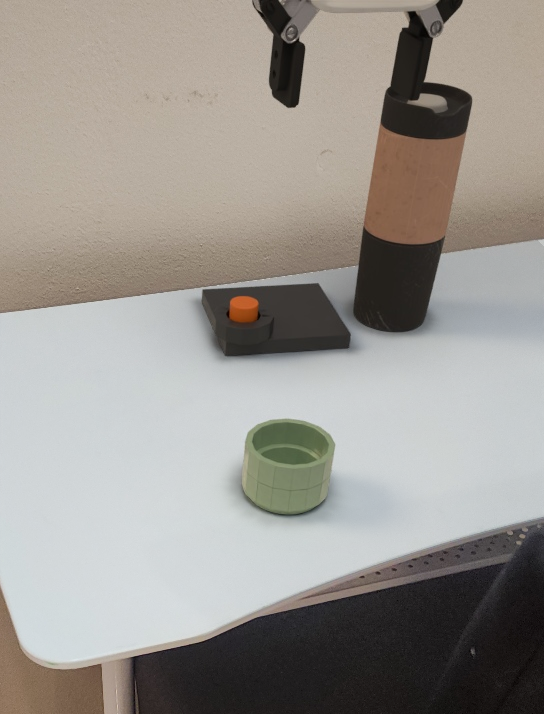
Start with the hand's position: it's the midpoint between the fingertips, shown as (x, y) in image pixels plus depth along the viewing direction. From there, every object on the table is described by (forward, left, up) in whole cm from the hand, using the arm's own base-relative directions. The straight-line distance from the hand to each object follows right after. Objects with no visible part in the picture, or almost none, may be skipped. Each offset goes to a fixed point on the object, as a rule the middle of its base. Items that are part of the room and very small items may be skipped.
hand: (345, 98), depth 72 cm
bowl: (+6, +14, -24) cm, 28 cm away
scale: (0, -13, -24) cm, 27 cm away
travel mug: (-12, -13, -24) cm, 30 cm away
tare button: (+4, -9, -21) cm, 23 cm away
